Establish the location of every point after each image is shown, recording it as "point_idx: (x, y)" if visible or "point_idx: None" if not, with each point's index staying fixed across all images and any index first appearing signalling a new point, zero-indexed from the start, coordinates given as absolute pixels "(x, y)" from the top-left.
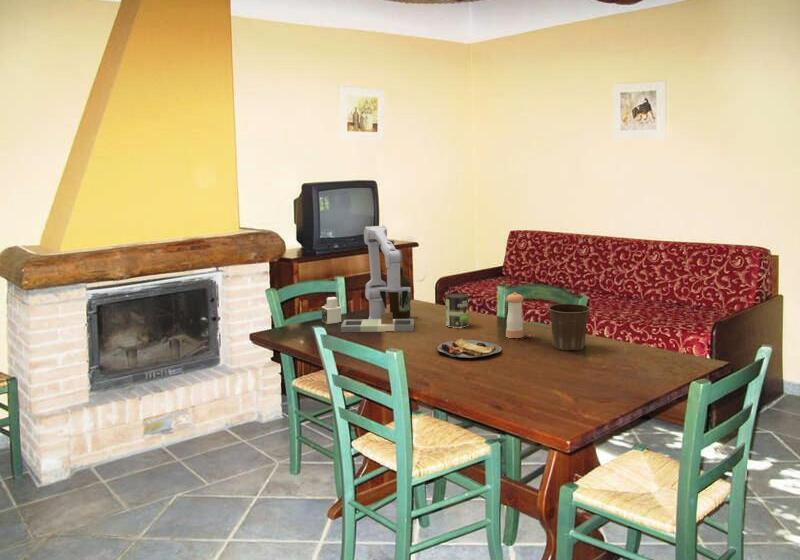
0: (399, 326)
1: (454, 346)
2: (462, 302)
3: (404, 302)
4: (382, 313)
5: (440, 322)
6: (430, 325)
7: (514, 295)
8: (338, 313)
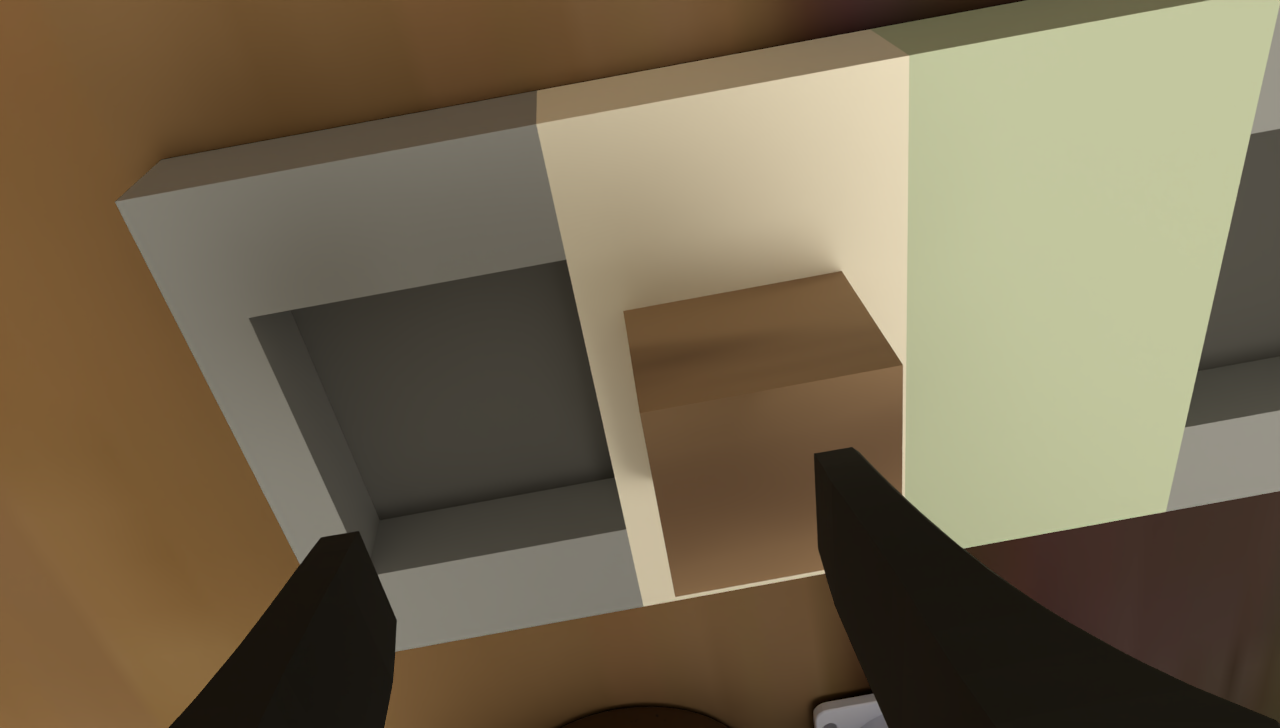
0: (426, 139)
1: None
2: None
3: (219, 674)
4: None
5: (21, 717)
6: (74, 565)
7: None
8: None
